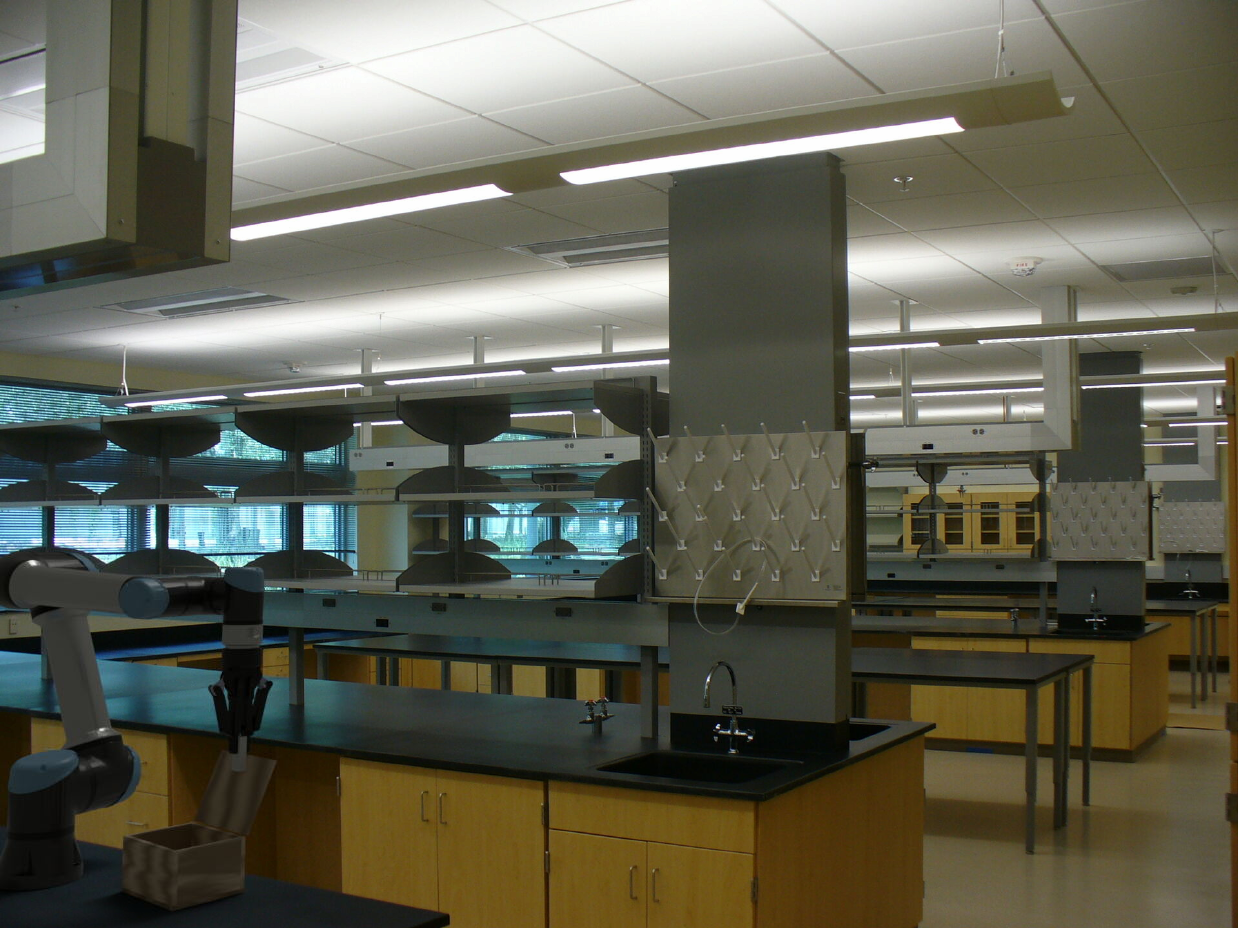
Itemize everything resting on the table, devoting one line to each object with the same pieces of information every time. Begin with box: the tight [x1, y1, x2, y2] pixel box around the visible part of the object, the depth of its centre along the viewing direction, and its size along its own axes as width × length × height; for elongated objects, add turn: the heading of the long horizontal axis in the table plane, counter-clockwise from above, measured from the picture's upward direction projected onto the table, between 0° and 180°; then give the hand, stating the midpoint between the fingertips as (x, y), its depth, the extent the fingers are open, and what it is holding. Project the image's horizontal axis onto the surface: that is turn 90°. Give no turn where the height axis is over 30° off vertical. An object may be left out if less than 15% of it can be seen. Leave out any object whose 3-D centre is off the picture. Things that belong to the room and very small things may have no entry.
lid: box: [193, 749, 278, 837], centre depth 216 cm, size 18×14×1 cm
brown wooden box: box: [120, 821, 246, 912], centre depth 207 cm, size 18×14×10 cm
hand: (238, 770), depth 217 cm, fingers closed
